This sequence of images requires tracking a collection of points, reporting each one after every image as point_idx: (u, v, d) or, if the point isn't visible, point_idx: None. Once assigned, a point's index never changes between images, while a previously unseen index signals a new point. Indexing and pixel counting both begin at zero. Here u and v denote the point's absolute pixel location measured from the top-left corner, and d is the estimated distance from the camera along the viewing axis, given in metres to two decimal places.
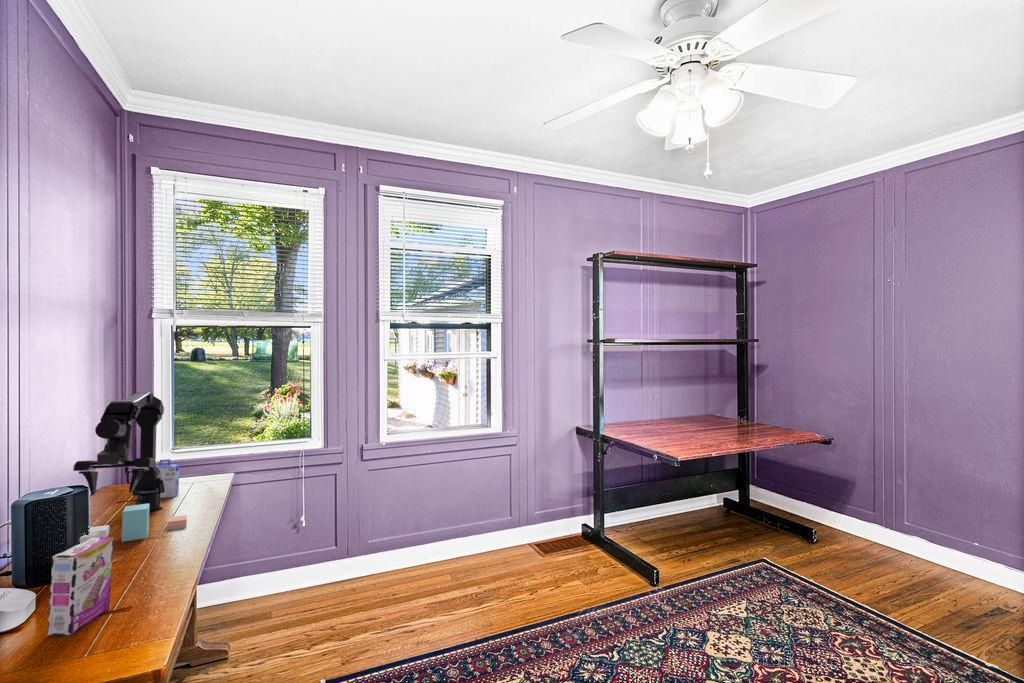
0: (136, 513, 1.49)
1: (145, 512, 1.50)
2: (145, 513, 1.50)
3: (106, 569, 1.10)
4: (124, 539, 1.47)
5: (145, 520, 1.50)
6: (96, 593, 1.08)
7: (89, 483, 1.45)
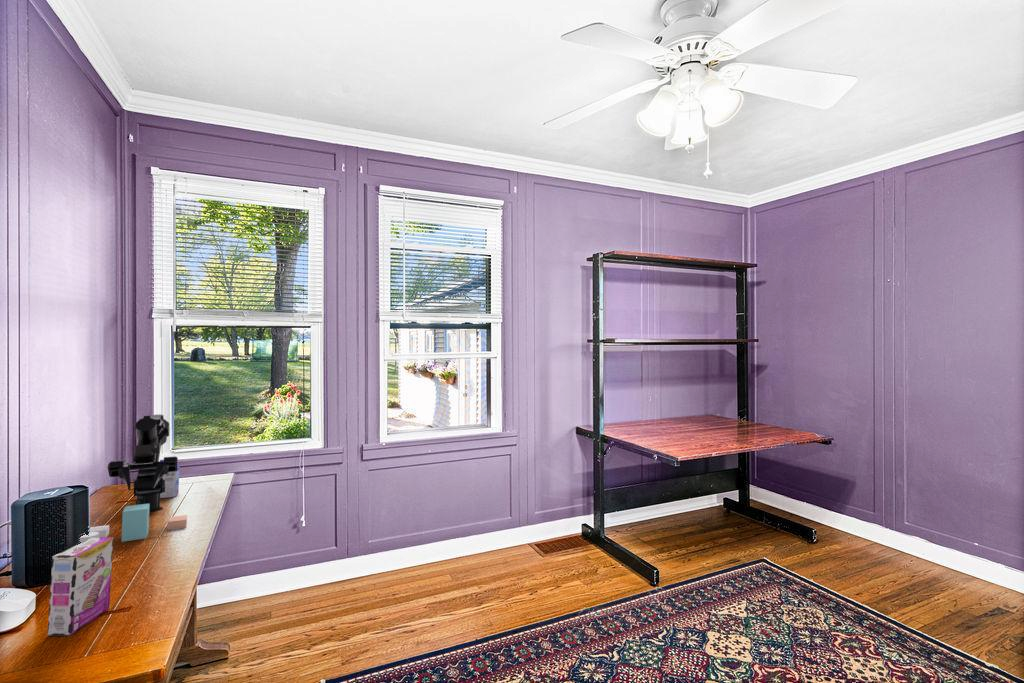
0: (136, 513, 1.49)
1: (145, 512, 1.50)
2: (145, 513, 1.50)
3: (106, 569, 1.10)
4: (124, 539, 1.47)
5: (145, 520, 1.50)
6: (96, 593, 1.08)
7: (126, 478, 1.60)
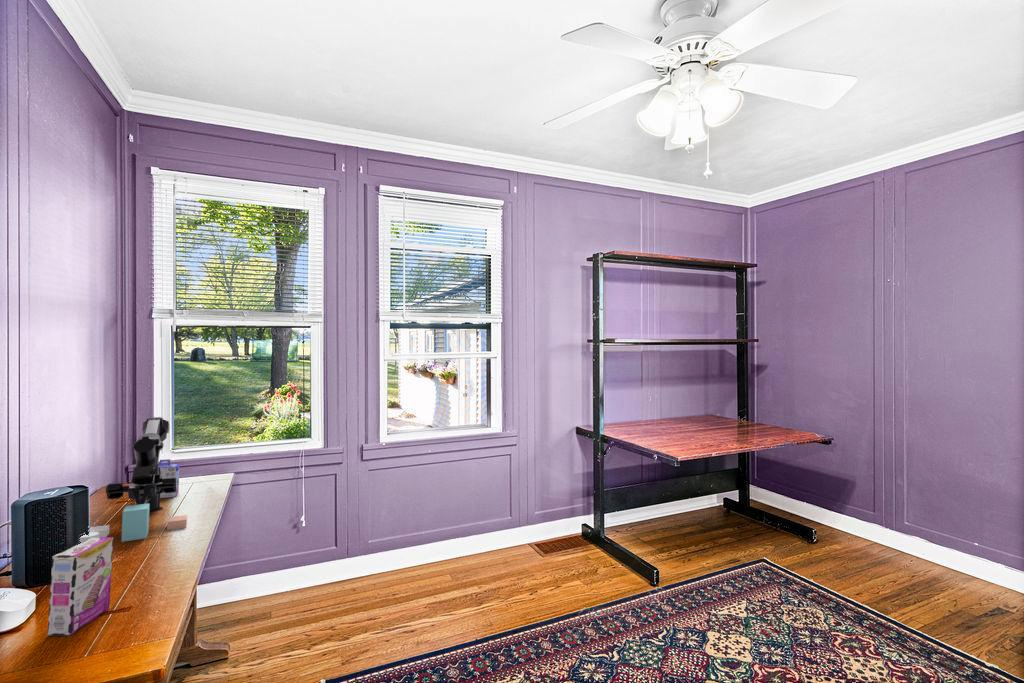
0: (136, 513, 1.49)
1: (145, 512, 1.50)
2: (145, 513, 1.50)
3: (106, 569, 1.10)
4: (124, 539, 1.47)
5: (145, 520, 1.50)
6: (96, 593, 1.08)
7: (136, 499, 1.60)
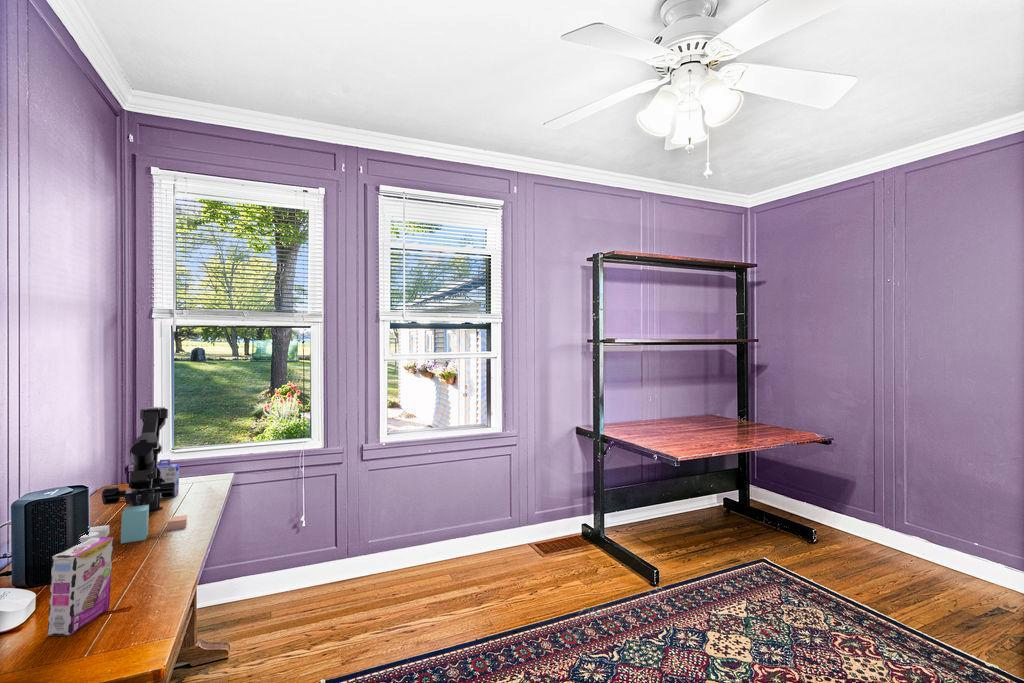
0: (135, 515, 1.48)
1: (144, 514, 1.49)
2: (144, 514, 1.49)
3: (106, 569, 1.10)
4: (123, 541, 1.46)
5: (144, 521, 1.49)
6: (96, 593, 1.08)
7: (133, 505, 1.54)
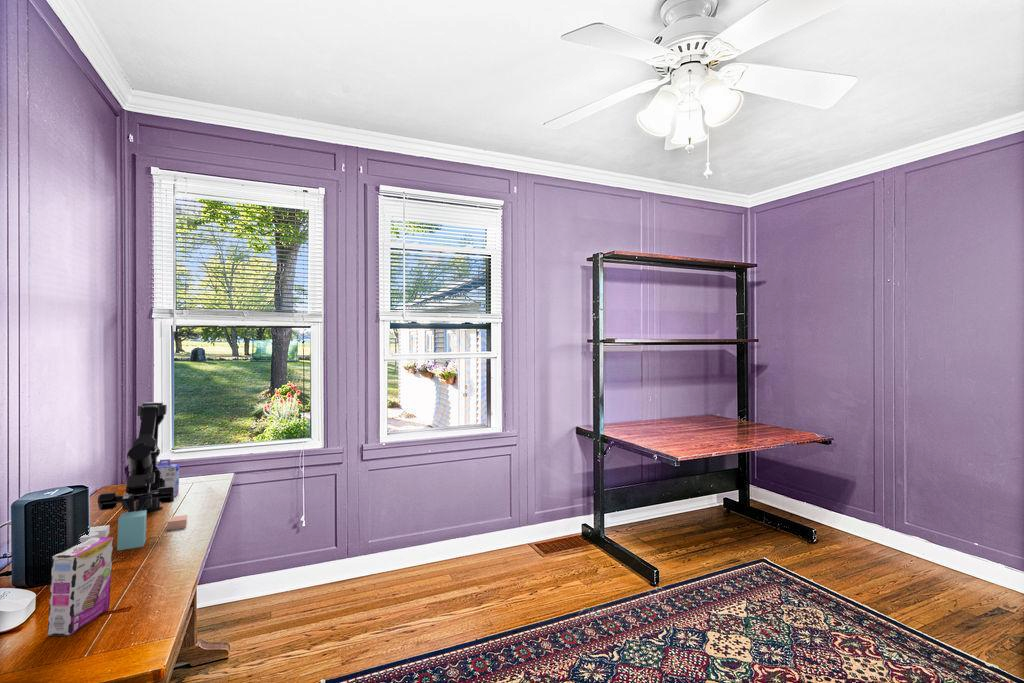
0: (133, 521, 1.43)
1: (142, 520, 1.44)
2: (142, 520, 1.44)
3: (106, 569, 1.10)
4: (120, 548, 1.41)
5: (142, 528, 1.44)
6: (96, 593, 1.08)
7: (131, 511, 1.49)
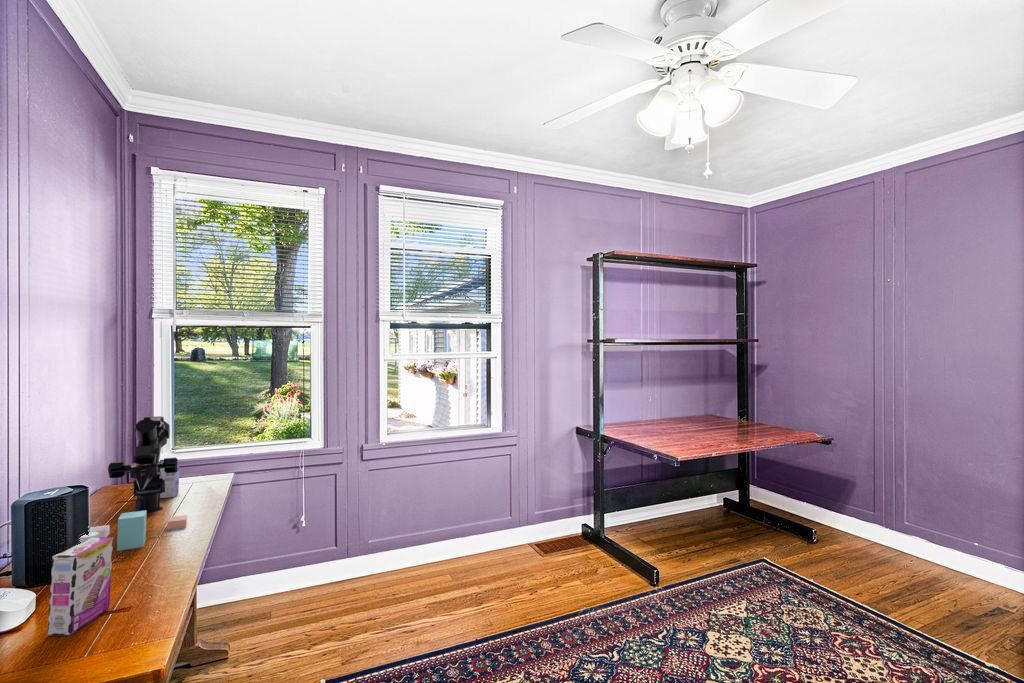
0: (132, 521, 1.42)
1: (142, 520, 1.43)
2: (142, 521, 1.44)
3: (106, 569, 1.10)
4: (120, 548, 1.41)
5: (142, 528, 1.43)
6: (96, 593, 1.08)
7: (138, 478, 1.62)
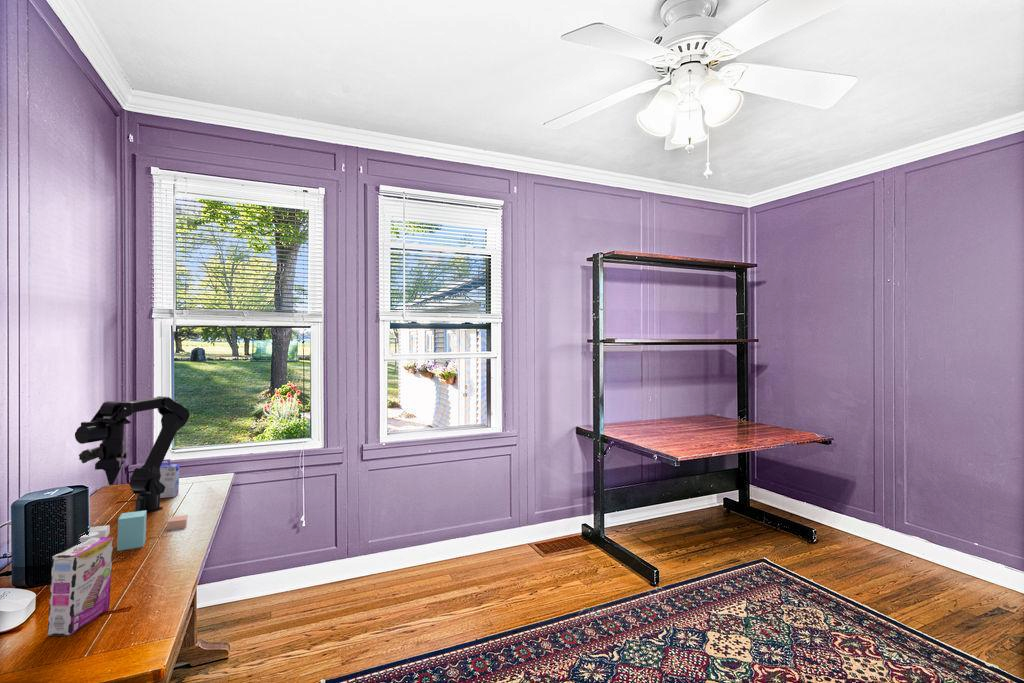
0: (132, 521, 1.42)
1: (142, 520, 1.43)
2: (142, 521, 1.44)
3: (106, 569, 1.10)
4: (120, 548, 1.41)
5: (142, 528, 1.43)
6: (96, 593, 1.08)
7: None
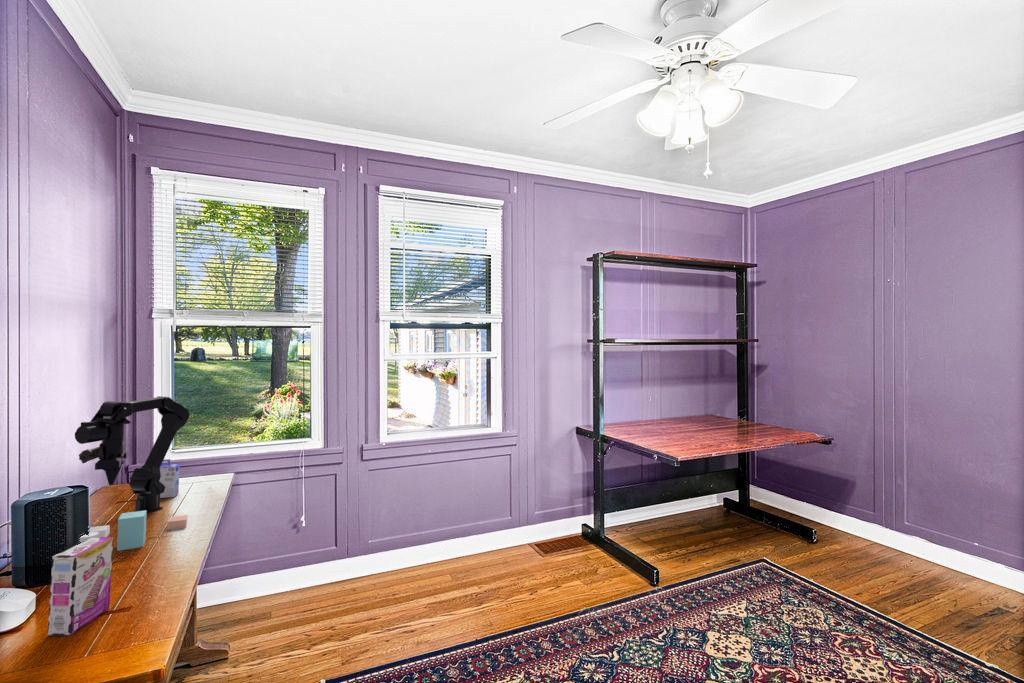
0: (132, 521, 1.42)
1: (142, 520, 1.43)
2: (142, 521, 1.44)
3: (106, 569, 1.10)
4: (120, 548, 1.41)
5: (142, 528, 1.43)
6: (96, 593, 1.08)
7: None
